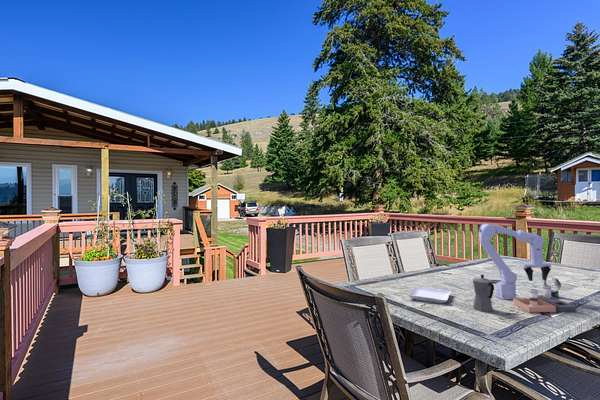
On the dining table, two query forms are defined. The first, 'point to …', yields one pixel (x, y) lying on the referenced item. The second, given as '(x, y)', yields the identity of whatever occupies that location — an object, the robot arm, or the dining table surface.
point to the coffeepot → (483, 294)
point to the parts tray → (541, 306)
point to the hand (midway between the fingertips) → (537, 280)
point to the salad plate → (430, 294)
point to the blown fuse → (533, 297)
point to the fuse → (546, 292)
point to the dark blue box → (557, 283)
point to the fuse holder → (559, 304)
